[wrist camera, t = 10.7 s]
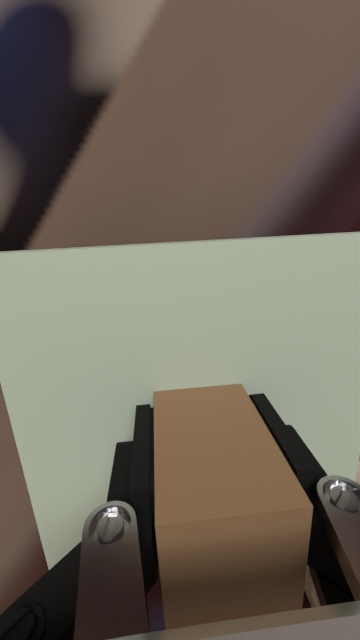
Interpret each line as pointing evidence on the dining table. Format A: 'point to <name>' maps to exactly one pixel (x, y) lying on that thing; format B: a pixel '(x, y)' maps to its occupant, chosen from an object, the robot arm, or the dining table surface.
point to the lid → (187, 399)
